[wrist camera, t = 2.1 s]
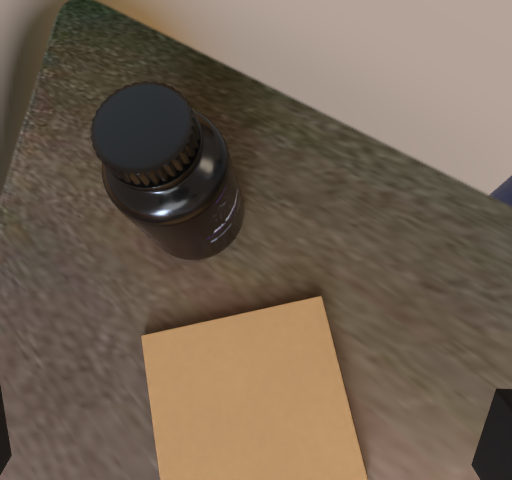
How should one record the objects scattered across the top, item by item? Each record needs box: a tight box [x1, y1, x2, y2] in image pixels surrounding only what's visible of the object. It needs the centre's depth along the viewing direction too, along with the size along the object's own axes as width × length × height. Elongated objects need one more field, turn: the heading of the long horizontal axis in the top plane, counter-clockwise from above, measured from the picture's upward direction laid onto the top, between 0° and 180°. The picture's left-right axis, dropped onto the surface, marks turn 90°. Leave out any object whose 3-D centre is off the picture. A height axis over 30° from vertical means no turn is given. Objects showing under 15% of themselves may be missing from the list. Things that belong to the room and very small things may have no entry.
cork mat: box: [141, 296, 368, 480], centre depth 27 cm, size 12×11×1 cm
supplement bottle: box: [90, 81, 244, 260], centre depth 25 cm, size 7×7×12 cm
